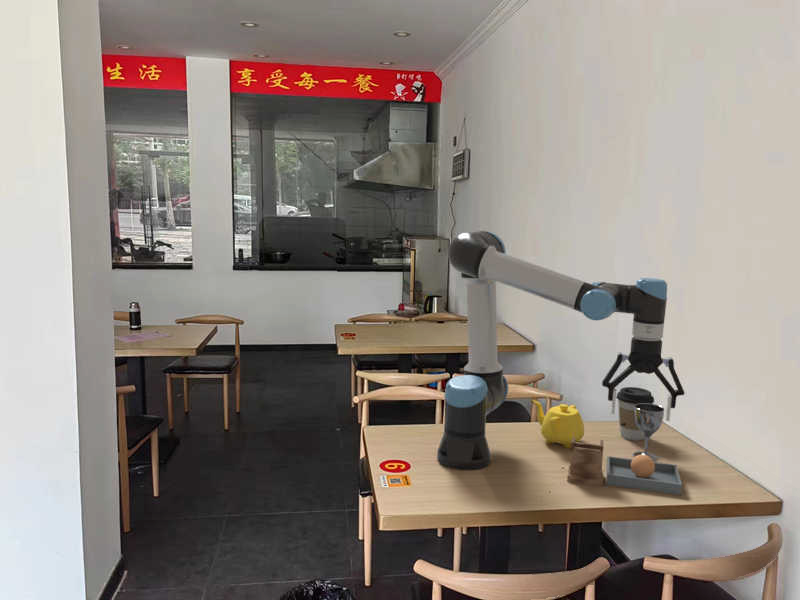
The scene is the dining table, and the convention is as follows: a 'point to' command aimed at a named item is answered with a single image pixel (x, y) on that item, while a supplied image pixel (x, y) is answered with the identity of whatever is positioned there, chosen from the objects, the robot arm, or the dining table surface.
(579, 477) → the stand
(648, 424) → the silver goblet
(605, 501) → the dining table surface
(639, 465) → the ball
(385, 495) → the dining table surface
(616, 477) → the tray
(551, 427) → the teapot
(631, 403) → the coffee cup
